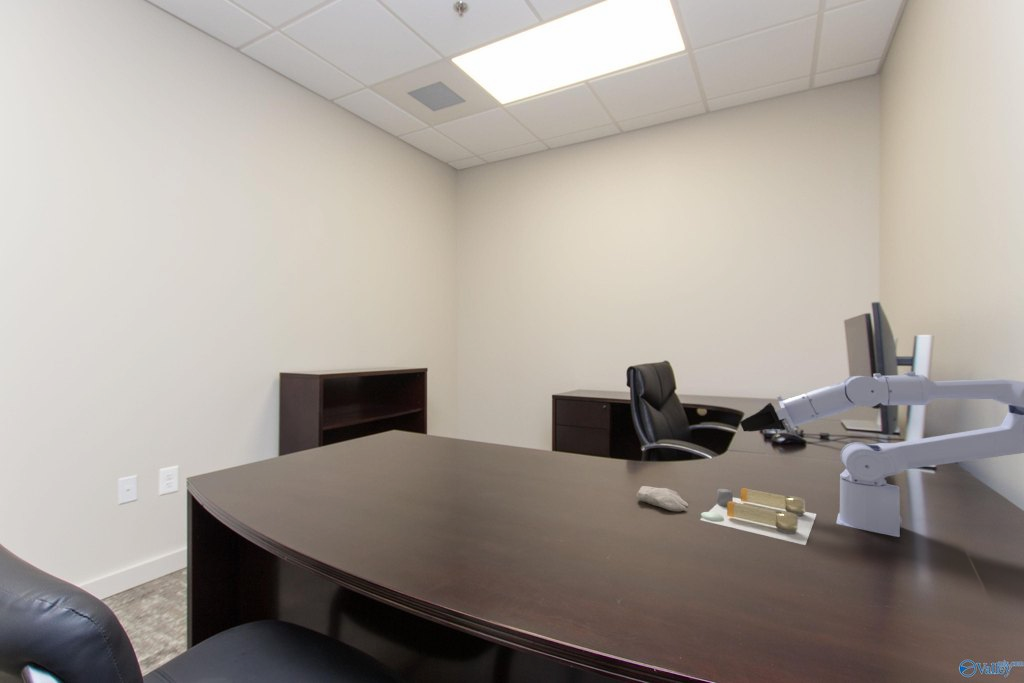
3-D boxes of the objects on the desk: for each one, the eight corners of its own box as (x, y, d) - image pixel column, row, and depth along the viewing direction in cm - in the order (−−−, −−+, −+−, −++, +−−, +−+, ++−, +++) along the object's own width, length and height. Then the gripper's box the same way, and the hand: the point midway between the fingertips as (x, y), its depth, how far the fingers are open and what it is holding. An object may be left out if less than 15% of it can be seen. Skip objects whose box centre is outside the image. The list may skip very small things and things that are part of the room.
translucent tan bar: (798, 527, 85) (799, 513, 85) (796, 533, 82) (796, 519, 82) (730, 512, 92) (730, 499, 92) (725, 517, 90) (726, 504, 90)
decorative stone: (695, 520, 92) (677, 503, 107) (698, 501, 93) (679, 486, 107) (640, 508, 94) (630, 493, 108) (643, 489, 94) (633, 477, 109)
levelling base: (816, 516, 94) (816, 499, 94) (805, 547, 79) (805, 527, 79) (723, 497, 106) (723, 482, 106) (697, 521, 90) (697, 503, 90)
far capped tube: (806, 510, 94) (806, 498, 95) (804, 515, 92) (804, 502, 92) (743, 498, 102) (743, 486, 102) (739, 501, 99) (740, 490, 99)
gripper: (803, 390, 102) (740, 411, 108) (801, 384, 90) (731, 408, 96) (818, 421, 99) (753, 440, 105) (819, 419, 87) (746, 440, 93)
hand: (744, 427), depth 100 cm, fingers open, 7 cm apart
